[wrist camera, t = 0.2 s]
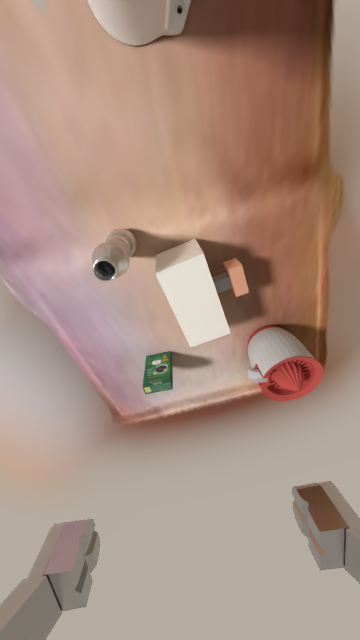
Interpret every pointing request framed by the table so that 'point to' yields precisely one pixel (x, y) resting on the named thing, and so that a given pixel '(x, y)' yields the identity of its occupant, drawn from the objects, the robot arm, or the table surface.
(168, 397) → the table surface
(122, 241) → the plastic bottle
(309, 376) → the citrus juicer
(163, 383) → the coffee box
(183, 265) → the box
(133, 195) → the table surface
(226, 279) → the key
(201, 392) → the table surface
